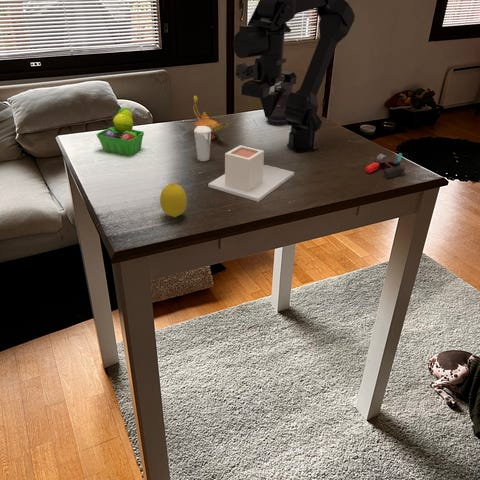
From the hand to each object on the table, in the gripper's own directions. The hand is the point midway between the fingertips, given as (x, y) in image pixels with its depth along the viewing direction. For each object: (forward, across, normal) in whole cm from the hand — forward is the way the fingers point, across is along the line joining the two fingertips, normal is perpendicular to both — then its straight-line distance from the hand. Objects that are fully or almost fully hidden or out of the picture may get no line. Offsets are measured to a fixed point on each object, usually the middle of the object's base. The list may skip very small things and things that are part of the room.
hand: (267, 117), depth 123 cm
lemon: (+13, +38, -1) cm, 40 cm away
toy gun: (+12, -12, +28) cm, 33 cm away
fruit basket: (+13, +15, -37) cm, 42 cm away
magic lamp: (+12, -6, -23) cm, 26 cm away
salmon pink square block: (+7, +17, +3) cm, 18 cm away
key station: (+12, +13, +4) cm, 18 cm away
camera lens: (+12, -31, -13) cm, 36 cm away
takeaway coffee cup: (+12, +8, -14) cm, 21 cm away
